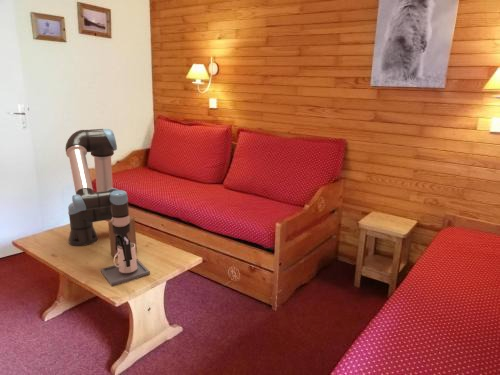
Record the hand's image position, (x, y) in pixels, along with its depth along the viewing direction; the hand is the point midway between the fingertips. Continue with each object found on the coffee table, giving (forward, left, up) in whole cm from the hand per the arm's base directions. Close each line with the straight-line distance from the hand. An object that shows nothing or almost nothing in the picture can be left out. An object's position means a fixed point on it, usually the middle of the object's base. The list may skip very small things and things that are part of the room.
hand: (124, 268), depth 178 cm
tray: (0, 0, -3) cm, 3 cm away
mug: (0, 0, -1) cm, 1 cm away
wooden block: (-21, +7, -3) cm, 22 cm away
